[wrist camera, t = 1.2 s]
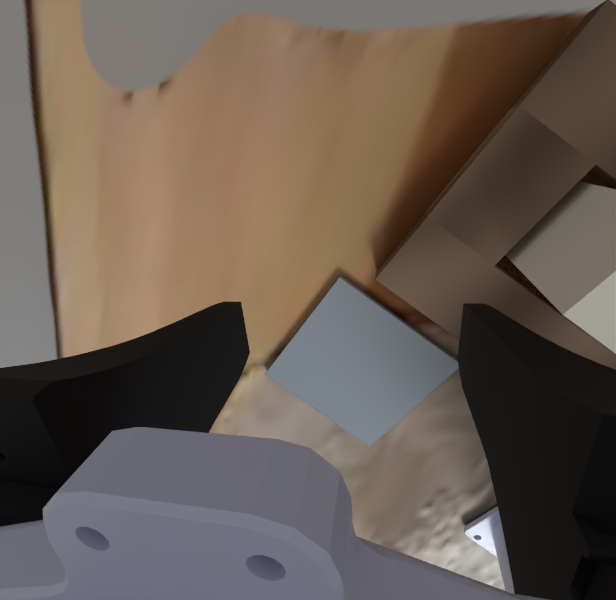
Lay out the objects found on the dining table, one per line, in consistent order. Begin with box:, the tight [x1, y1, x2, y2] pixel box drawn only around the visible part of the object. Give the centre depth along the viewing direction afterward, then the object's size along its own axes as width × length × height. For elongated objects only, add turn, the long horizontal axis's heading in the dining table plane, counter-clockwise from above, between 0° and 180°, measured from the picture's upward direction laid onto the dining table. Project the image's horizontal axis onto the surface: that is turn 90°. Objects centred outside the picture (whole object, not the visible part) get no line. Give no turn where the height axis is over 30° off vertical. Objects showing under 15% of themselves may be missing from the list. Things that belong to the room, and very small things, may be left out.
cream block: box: [505, 182, 616, 354], centre depth 15 cm, size 4×4×8 cm
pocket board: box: [375, 0, 616, 370], centre depth 18 cm, size 14×14×2 cm
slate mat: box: [265, 275, 459, 447], centre depth 24 cm, size 9×9×1 cm
